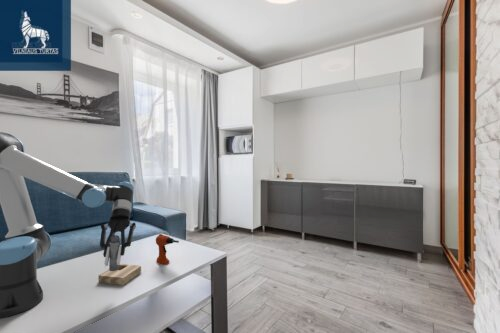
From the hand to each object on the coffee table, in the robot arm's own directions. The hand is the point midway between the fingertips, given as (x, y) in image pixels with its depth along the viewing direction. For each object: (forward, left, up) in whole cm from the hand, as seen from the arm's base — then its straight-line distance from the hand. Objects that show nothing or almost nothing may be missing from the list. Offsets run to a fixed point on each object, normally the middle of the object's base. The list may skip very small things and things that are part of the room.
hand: (112, 263), depth 90 cm
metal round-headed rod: (-2, +3, -4) cm, 5 cm away
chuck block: (-9, +15, -13) cm, 22 cm away
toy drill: (+5, +31, -13) cm, 34 cm away
